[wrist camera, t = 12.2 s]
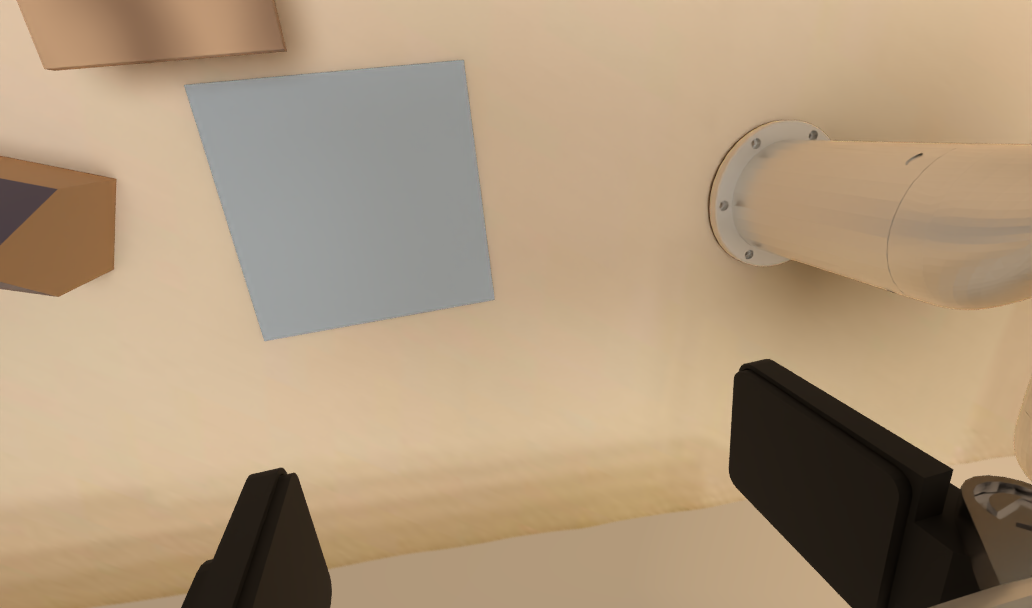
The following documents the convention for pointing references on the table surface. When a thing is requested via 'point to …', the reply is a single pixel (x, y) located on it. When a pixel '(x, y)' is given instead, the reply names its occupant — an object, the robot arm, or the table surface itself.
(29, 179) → the toy building blocks
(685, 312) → the table surface
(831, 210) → the robot arm
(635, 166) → the table surface
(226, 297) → the table surface
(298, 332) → the mat
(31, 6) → the lid
